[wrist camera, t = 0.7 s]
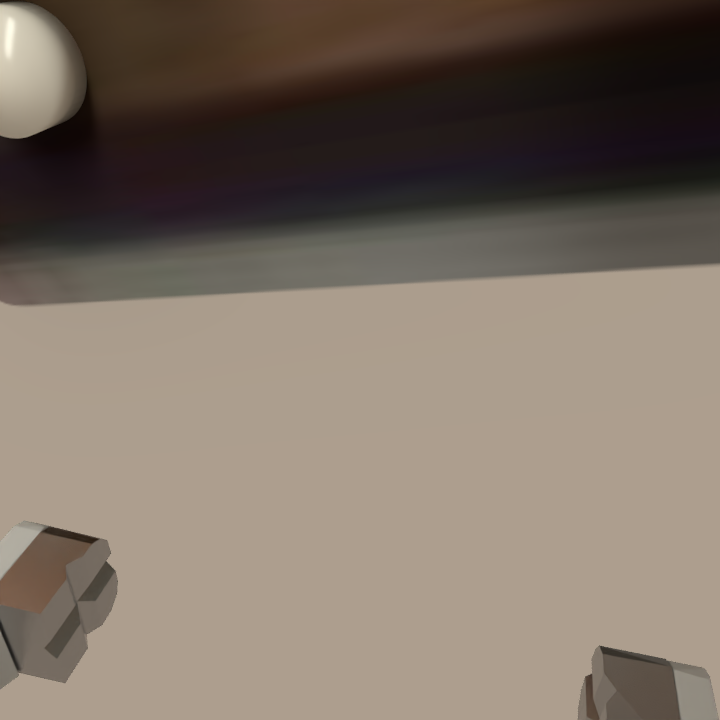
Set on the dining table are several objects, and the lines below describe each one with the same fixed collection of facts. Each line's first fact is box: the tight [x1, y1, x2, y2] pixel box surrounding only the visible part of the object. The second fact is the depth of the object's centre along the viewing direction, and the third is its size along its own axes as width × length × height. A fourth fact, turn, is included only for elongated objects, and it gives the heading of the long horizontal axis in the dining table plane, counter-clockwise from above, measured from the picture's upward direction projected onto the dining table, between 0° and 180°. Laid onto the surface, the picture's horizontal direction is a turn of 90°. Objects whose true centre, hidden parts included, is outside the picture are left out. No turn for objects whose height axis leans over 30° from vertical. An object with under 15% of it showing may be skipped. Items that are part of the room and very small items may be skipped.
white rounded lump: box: [0, 1, 87, 138], centre depth 52 cm, size 9×9×4 cm
